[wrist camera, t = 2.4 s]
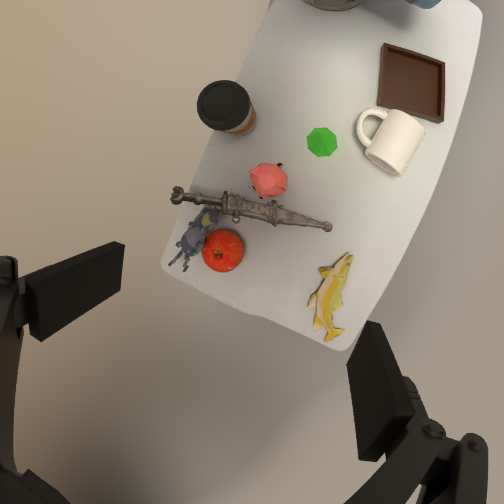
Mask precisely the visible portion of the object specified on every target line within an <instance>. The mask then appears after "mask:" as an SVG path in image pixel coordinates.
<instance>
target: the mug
mask: <svg viewBox="0 0 504 504" xmlns="http://www.w3.org/2000/svg"><path fill="white" fill-rule="evenodd" d="M368 115H375V116H378V117H380V118H382V119H383V122H382V123H381V125H380V127H379V128H378V130H377V132H376V133H375V135H374V137H373V138H372V140H370V139H369V138H368V137H367V136H366V135H365V134H364V132H363V129H362V124H363V121H364V119H365V118H366V117H367V116H368ZM356 129H357V135H358V138H359V140H360V141H361V142H362V143H363V144H364V145H365V146H366V150H365V155H366V156H367V157H368V158H369V159H370V160H371V161H372V162H374V163H375V164H376V165H378V166H379V167H380V168H382V169H384V170H385V171H387V172H388V173H390V174H392V175H394V176H397V177H401V176H402V175H403V173H404V171H405V170H406V168H407V166H408V165H409V163H410V161H411V159H412V158H413V156H414V154H415V152H416V150H417V149H418V147H419V145H420V143H421V141H422V140H423V138H424V136H425V129H424V128H423V126H422V125H421V124H420V123H419V122H418V121H417V120H416V119H414V118H413V117H412V116H410V115H408V114H407V113H405V112H403V111H400V110H397V109H391V110H389V111H388V113H386V112H385V111H383V110H380V109H377V108H368V109H366V110H364V111H363V112H362V113H361V115H360V117H359V119H358V122H357V128H356Z"/></svg>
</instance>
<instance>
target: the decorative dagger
mask: <svg viewBox="0 0 504 504" xmlns="http://www.w3.org/2000/svg"><path fill="white" fill-rule="evenodd" d="M173 191H174V193H172V197H171V199H170V200H171V201H172V203H173V204H175V205H178V204H180V203H181V202H182V201H189V202H194V204H196V205H200V204H208V205H214V206H220V207H221V213H222V214H223V215H232V216H234V217H233V218H238V219H239V221H237V222H235V221H234V220H233V218H232V221H233V223H239V222H240V218H239V216H243V217H250V218H254V219H259V220H263V221H266V222H268V223H271V224H272V225H273V226H275V227H276V225H277V224H285V225H299V226H310V227H316V228H322V229H323V230H324V231H326V232H330V231H331V230H332V225H331V224H330V223H329V222H325V223H321V222H318V221H315V220H313V219H310V218H307V217H305V216H302V215H298V214H296V213H293V212H290V211H287V210H285V209H283V206H282V205H280V206H278V203H277V202H276V201H275V200H272V201H271V202H272V203H273V205H271V203H269V202H268V203H267V205H266V204H260V203H255V202H251V201H248V200H245V197H241V198H240V197H239V195H238V194H237V195H236V196H234V195H233V194H232V193H230V195H227V191H225V192H224V194H223V197H222V199H217V198H214V197H208V196H203V195H202V194H201V193H197V194H190V193H184V190H183V188H181V187H178V186H176V187H174V188H173Z"/></svg>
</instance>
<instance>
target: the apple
mask: <svg viewBox="0 0 504 504" xmlns="http://www.w3.org/2000/svg"><path fill="white" fill-rule="evenodd" d="M203 244H205V245H206V246H205V248H204V250H203V251H202V250H201V251H202V256H203V258H204V261H205V263H206V264H207V266H208V267H210V268H211V269H213V270H215V271H217V272H229V271H231V270H233V269H234V268H235V267H236V266H237V265H238V264H239V263H240V262H241V260H242V258H243V253H244V247H243V243H242V241H241V239H240V238H239V237H238V236H237V235H236V234H234V233H233V232H230V231H227V230H217V231H214V232H212V233H211V234H209V235H208V236H207V237H206V238H205V240H204V243H203Z"/></svg>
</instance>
